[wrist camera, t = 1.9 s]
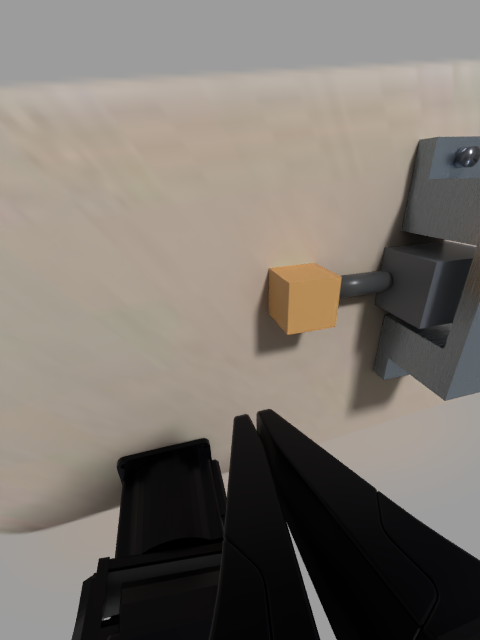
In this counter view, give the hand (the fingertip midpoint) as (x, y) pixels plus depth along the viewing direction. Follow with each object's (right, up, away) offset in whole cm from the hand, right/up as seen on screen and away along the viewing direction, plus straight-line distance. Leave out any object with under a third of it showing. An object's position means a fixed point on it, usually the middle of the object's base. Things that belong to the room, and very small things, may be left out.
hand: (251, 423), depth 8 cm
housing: (+12, +6, +12) cm, 18 cm away
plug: (+8, +6, +11) cm, 15 cm away
